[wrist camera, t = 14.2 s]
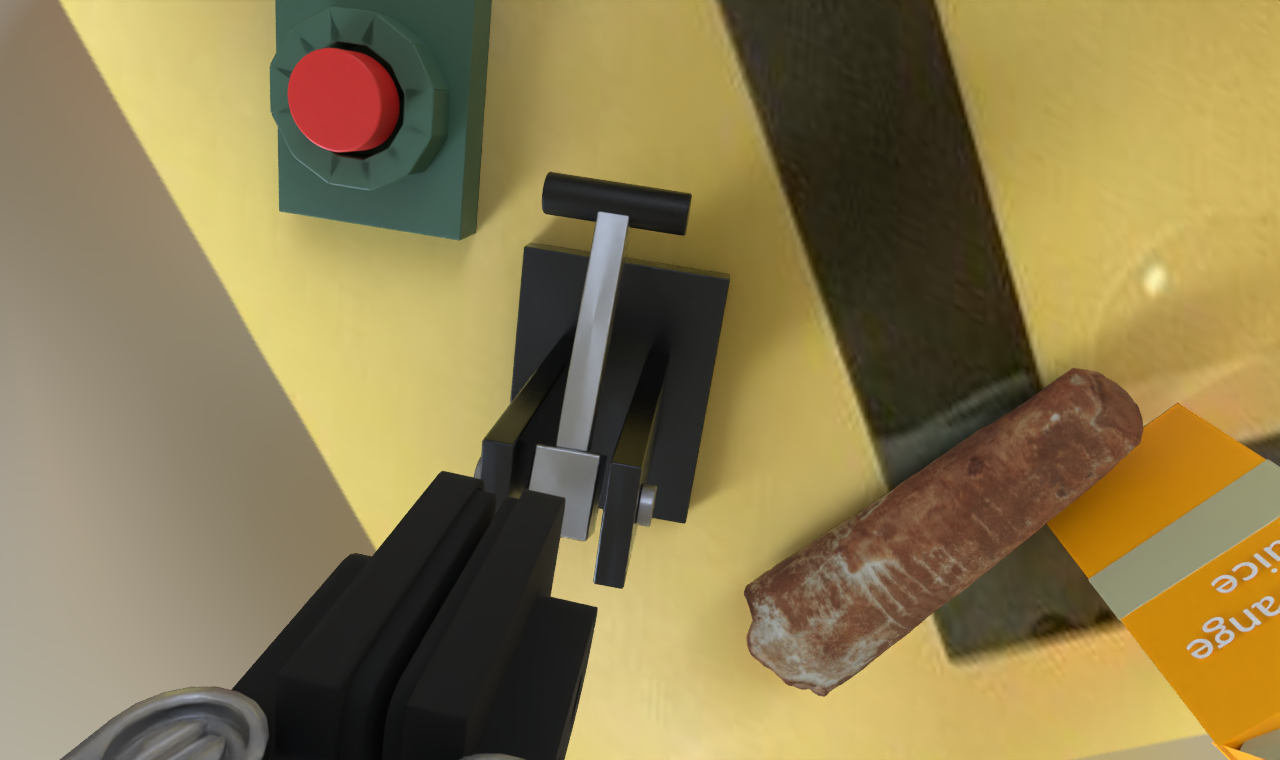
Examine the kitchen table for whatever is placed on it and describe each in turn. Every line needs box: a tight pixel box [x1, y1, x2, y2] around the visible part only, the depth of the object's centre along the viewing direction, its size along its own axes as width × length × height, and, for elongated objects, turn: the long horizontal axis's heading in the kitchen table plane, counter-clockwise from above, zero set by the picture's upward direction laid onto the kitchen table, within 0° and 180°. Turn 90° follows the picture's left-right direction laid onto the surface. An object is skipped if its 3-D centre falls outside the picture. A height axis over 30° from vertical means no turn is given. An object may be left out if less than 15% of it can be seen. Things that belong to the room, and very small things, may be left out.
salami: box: [744, 368, 1143, 696], centre depth 34 cm, size 6×19×6 cm, turn 132°
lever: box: [527, 172, 692, 541], centre depth 26 cm, size 12×5×2 cm, turn 173°
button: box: [288, 48, 400, 152], centre depth 29 cm, size 4×4×2 cm
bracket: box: [474, 243, 730, 589], centre depth 30 cm, size 12×9×13 cm
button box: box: [270, 0, 492, 240], centre depth 31 cm, size 10×8×4 cm
